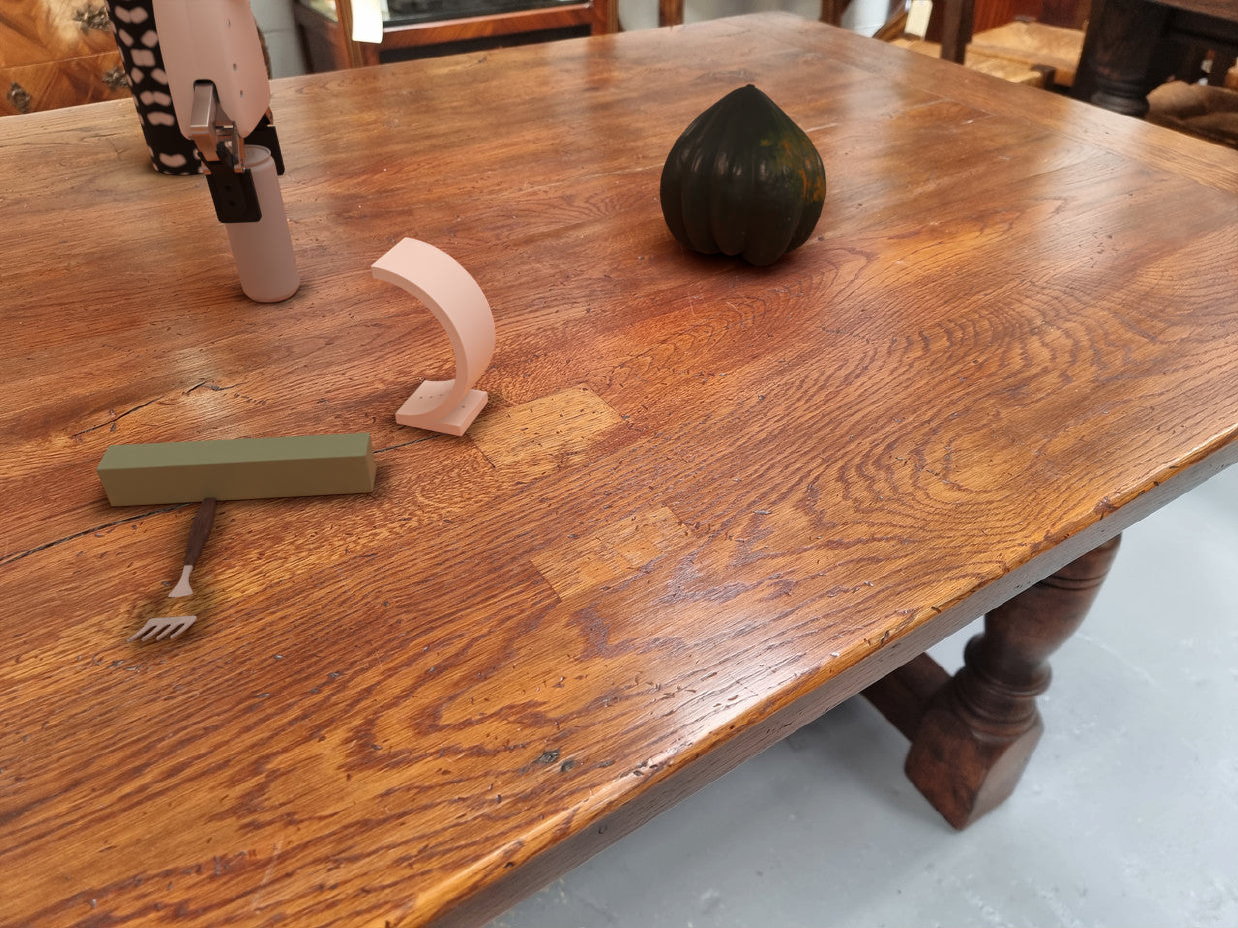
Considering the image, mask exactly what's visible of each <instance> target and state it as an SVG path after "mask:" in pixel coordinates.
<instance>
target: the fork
mask: <svg viewBox="0 0 1238 928" xmlns="http://www.w3.org/2000/svg"><path fill="white" fill-rule="evenodd" d="M217 503H218V501H216V498H215V497H213V498H205V499H204V501H203V502H202V503H201V505H200V507H199V508H198V510H197V512H196V514H195V516H194V519H193V521H192V523H191V527H190V531H189V535H188V540H187V547H186V552H185V558H184V562H183V563H184V565H183V569H182V573H181V577H180V579H179V580H178V582H177V584H176V585H175V587H174V588H173V589H172V591H170V593H169V594H167V595H168V596H167V597H169V598H179V597H186V596H190V595H193V592H194V591H193V590H192V587H191V584H190V575H191V574H192V572H193V570H194V568H195V565H196V564H197V562H198V560H199V558H200V556H201V554H202V552H203V549H204V548H205V546H206V544H207V541H208V540H209V537H210V535H211V532H212V530H213V526H214V521H215V515H216V508H217ZM197 620H198V619H197V616H196V615H182V616H166V617H154V618H150V619H148V620H147V622H145V624H144V626H143V627H142V628H141V629H139V631H137V632H136V633H135V634H134V635H132V636H131V637H129V638H127V639H126V643H128V644H129V643H131V642H133V641H134V640H137V638H139V637H141V636H142V635H143V634H145V633H147V632H148V631H149V630H150V629H151V628H153V627H155V628H154V629H152V631H150V632H149V633H148V634H147V635H145V636H143V637H142V638H141V642H145V641H147V640H148V639H150V638H152V637H153V636H155V635H156V634H157V633H159V632H160V631H162V630H164V628H166V627H167V626H168V628H167V629H165V630H164V631H163V632H161V634H159V635H158V636H156V639H155V640H156V641H159V640H161V639H164V637H166V636H167V635H169V634H170V633H171V632H173V631H174V630H175V629H177V628H178V627H179V626H181V627H180V628H179V629H178V630H177V631H176V632H175V633H173V634H171V635H170V639H171V640H174V639H176V637H178V636H179V635H181V634H183V633H184V632H185V631H186V630H187V629H189V628H190V627H191V626H192V625H193V624H194V623H195V622H196V621H197Z"/></svg>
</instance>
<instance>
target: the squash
mask: <svg viewBox="0 0 1238 928" xmlns="http://www.w3.org/2000/svg"><path fill="white" fill-rule="evenodd" d="M825 169H826V168H825V165H824V161H823V158H822V156H821V154H820V152H819V150H818V149H817V147H816V146H815V144H814V143H813V141H812V140H811V138H810V137H809V136H808V135H807V133H806V132H805V131H804V130H803V129H802V128H801V127H800V126H799V125H798V124H797V123H796V122H795V121H794V120H793V119H792V118H791V117H790V116H789V115H788V114H787V113H786V112H785V111H784V110H783V109H782V108H781V107H780V106H779V105H777V104H776V103H775V101H773V99H772V98H771V97H769V96H768V95H767V94H766V93H765V92H764V91H762V90H761V89H759V88H758V87H756V85H755V84H753V83H747V84H745V86H740V87H738V88H735V89H733V90H732V91H730V92H729V93H727V94H725V95H724V96H722V98H720V99H719V100H717V101H716V102H714V103H713V104H712V105H711V106H710V107H708V108H707V109H706V110H704V111H703V112H702V113H700V114H698V115H697V117H695V118H694V120H692V121H691V122H690V123H689V124H688V126H687V127H686V128H685V129H684V130H683V132H682V133H680V135H679V136H678V138H677V139H676V140H675V142H674V144H673V146H672V147H671V149H670V151H669V152H668V155H667V157H666V160H665V162H664V165H663V167H662V171H661V176H660V180H659V181H660V182H659V183H660V184H659V201H660V207H661V211H662V215H663V219H664V222H665V224H666V227H667V228H668V230H669V232H670V234H671V236H672V237H673V238H674V239H675V240H676V241H677V242H678V243H679V244H680V245H682V247H684V248H687V249H689V250H691V251H695V252H701V253H703V254H707V255H713V254H714V255H715V254H717V253H720V252H722V253H723V254H725V255H729V256H736V255H739V254H741V256H742V257H743V258H744V260H745V261H746V262H748V263H749V264H751V265H753V266H759V267H760V266H761V267H764V266H769V265H772V264H774V263H775V262H777V260H778V259H779V258H780V257H781V256H782V255H787V254H789V253H793V252H794V251H796V250H798V249H800V248H801V247H802V246H803V245H804V244H806V243H807V241H808V240H809V239H810V238H811V235H812V234H813V232H814V231H815V230H816V226H817V225H818V222H819V220H820V218H821V216H822V212H823V208H824V205H825V201H826V197H827V177H826V170H825Z"/></svg>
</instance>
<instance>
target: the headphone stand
mask: <svg viewBox="0 0 1238 928" xmlns="http://www.w3.org/2000/svg"><path fill="white" fill-rule="evenodd" d="M370 268H371V276H372V279H375V280H380V281H383V282H386V283H389V284H391V285H394V286H397V287H398V288H401V290H404V291H405V292H407V293H409V294H410V295H411V296H413V297H414V298H416V300H418V301H419V302H421V303H422V304H423V305H424V306H425V308H427V309H428V310H429V311H430V312H431V314H432V315H433V316H434V317H435V318H436V319H437V321H438V322H439V324H440V325H441V326H442V328H443V330H444V332H445V333H446V335H447V338H448V339H449V342H450V345H451V348H452V350H453V354H454V361H455V378H452V379H447V380H426V379H424V381H422V383H421V384H420V385H419V386H418V387H417V388H416V390H414V391H413V393H412V394H411V395H410V396H409V397H408V398H407V400H406V401H405V402H404V403H403V404H402V405H401V406H400V408H399V409H398V410H397V411H396V412H395V413H394V414H395V415H394V417H395V422H396V424H399V425H403V426H408V427H413V428H417V429H418V428H419V429H423V430H428V431H433V432H436V433H437V432H438V433H442V434H447V435H453V436H458V437H463V435H464V434H465V433H466V431H467V430H468V428H469V427H470V426H471V425H472V424H473V422H474V421H475V420H476V418H477V417H478V416H479V414H480V413H481V412H482V410H483V409H484V408H485V406H486V405H487V403H489V395H488V391H484V390H479V389H474V388H473V387H474V385H475V384H476V383H477V382H478V380H479V379H480V378H481V377H482V376H483V374H484V373H485V372H486V370H487V369H488V368H489V366H490V364H491V362H492V361H493V356H494V354H495V349H496V343H497V342H496V340H497V338H496V337H497V335H496V333H497V332H496V325H495V320H494V315H493V312H492V310H491V307H490V304H489V302H488V300H487V297H486V296H485V294H484V292H483V290H482V289H481V287H480V286H479V285H478V283H477V281H476V280H475V278H474V277H473V276H472V275H471V274H470V273H469V272H468V271H467V270H466V268H465V267H464V266H463V265H462V264H460V263H459V262H458V261H457V260H456V259H455V258H453V257H452V256H451V255H449V254H448V253H447V252H444V251H443V250H441V248H440V249H439V248H438V247H436V246H434V245H433V244H429V243H428V242H425V241H422V240H419V239H416V238H412V237H408V236H407V237H406V236H405V237H404V238H403V239H401V240H400V241H399V242H398V243H396V244H395V245H394V246H393V247H392V248H390V250H388V251H387V252H385V253H384V254H383V255H382V256H381V257H380V258H379V259H377V260H376V261H375V262H373V263H372V264H371V265H370Z"/></svg>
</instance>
